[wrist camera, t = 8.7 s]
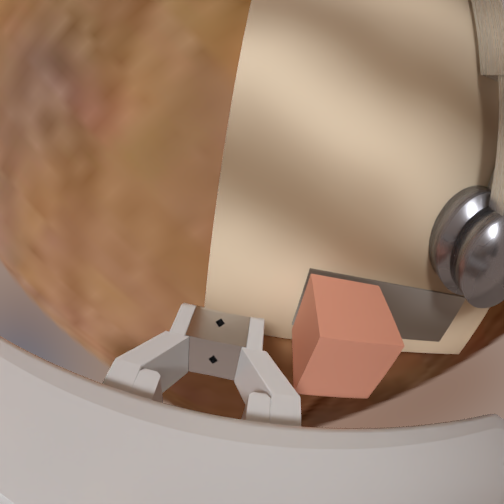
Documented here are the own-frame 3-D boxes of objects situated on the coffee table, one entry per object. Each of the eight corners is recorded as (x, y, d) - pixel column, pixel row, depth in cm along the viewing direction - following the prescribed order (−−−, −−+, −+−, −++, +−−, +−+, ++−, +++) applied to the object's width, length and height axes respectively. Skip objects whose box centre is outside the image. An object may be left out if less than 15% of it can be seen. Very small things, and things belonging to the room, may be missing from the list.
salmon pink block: (310, 273, 11) (320, 336, 8) (379, 285, 11) (404, 345, 8) (291, 329, 13) (293, 393, 10) (353, 337, 13) (367, 398, 10)
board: (295, -141, 3) (296, -157, 1) (533, -31, 3) (548, -35, 1) (209, 302, 15) (202, 324, 14) (449, 336, 15) (459, 355, 14)
